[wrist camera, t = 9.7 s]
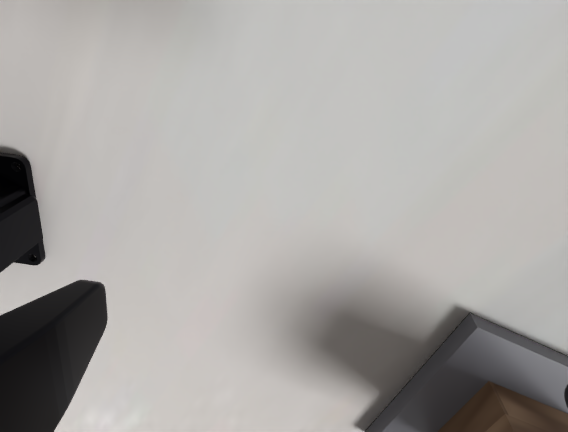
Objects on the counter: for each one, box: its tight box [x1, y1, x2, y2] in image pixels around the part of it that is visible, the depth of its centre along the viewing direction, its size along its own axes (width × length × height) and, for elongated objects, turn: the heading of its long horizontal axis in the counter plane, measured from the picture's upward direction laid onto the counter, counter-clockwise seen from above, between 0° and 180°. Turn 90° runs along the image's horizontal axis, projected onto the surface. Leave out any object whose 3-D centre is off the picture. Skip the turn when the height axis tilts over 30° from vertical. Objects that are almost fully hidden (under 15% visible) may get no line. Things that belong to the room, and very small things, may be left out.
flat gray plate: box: [365, 313, 568, 432], centre depth 25 cm, size 12×12×3 cm
